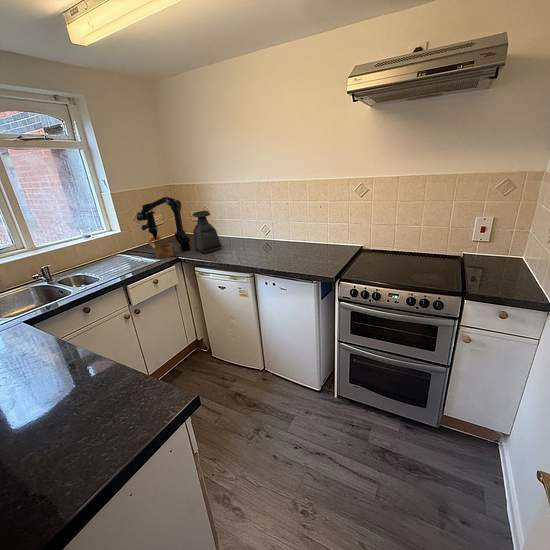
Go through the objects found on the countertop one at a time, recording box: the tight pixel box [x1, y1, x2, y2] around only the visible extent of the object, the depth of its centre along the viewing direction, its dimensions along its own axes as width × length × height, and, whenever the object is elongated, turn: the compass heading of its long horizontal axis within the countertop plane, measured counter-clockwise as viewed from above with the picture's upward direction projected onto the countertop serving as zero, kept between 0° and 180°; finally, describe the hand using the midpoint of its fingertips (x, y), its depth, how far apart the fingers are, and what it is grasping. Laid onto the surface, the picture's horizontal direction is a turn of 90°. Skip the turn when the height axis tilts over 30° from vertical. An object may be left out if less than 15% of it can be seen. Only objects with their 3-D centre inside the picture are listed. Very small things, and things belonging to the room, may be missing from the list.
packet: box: [149, 235, 162, 242], centre depth 244 cm, size 8×4×3 cm, turn 108°
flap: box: [147, 239, 156, 249], centre depth 227 cm, size 6×12×1 cm
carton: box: [154, 242, 176, 260], centre depth 232 cm, size 13×12×8 cm
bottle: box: [191, 210, 222, 255], centre depth 228 cm, size 18×16×30 cm
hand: (155, 238), depth 244 cm, fingers closed on packet, 4 cm apart
